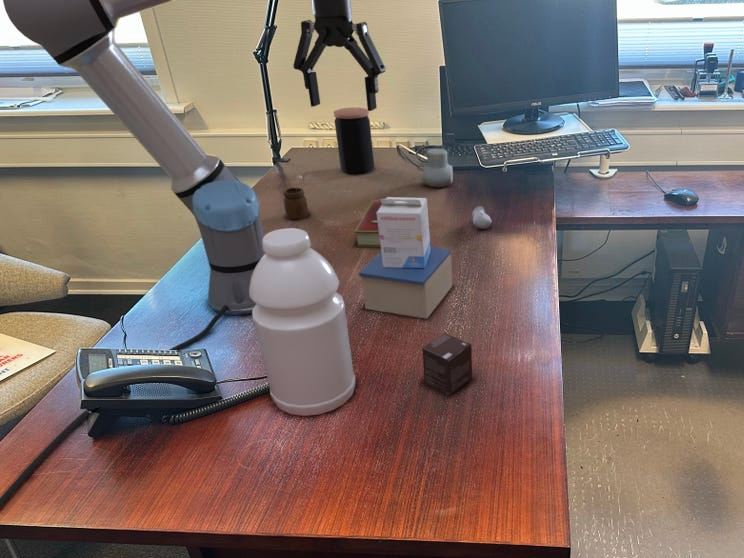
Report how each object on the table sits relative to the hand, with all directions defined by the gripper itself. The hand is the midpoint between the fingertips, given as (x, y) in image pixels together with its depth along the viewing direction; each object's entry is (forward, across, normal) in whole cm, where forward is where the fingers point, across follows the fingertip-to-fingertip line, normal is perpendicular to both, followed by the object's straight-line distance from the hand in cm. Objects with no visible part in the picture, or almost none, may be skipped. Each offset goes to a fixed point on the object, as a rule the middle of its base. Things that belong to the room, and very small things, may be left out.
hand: (343, 107), depth 138 cm
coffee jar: (+33, +28, -54) cm, 69 cm away
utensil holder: (+33, +26, -14) cm, 44 cm away
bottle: (+33, -19, +55) cm, 67 cm away
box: (+33, -40, +45) cm, 69 cm away
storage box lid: (+25, -22, +20) cm, 38 cm away
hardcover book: (+33, -2, -12) cm, 35 cm away
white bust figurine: (+33, -24, -22) cm, 46 cm away
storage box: (+33, -22, +19) cm, 44 cm away
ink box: (+24, -22, +19) cm, 38 cm away
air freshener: (+33, -2, -48) cm, 58 cm away
